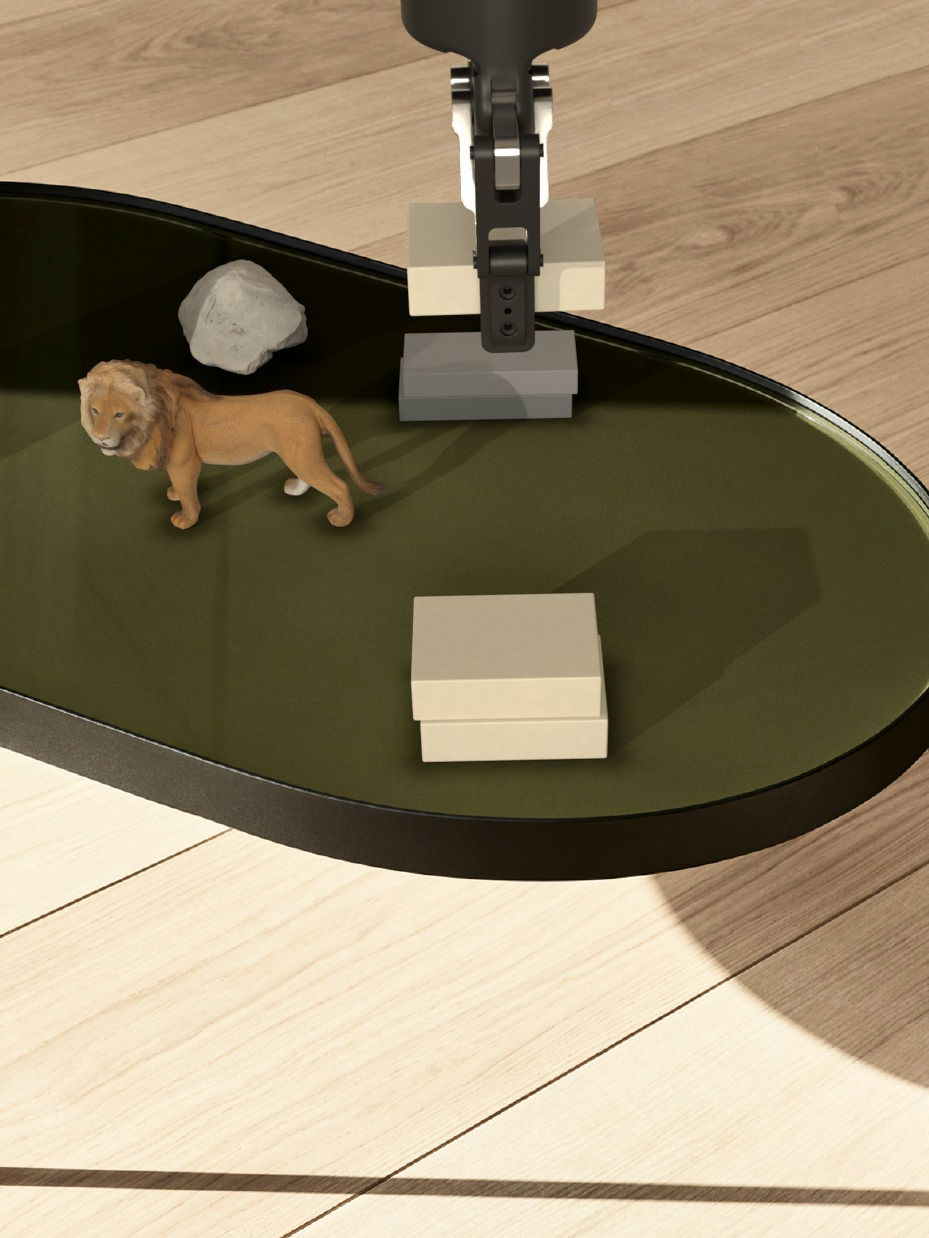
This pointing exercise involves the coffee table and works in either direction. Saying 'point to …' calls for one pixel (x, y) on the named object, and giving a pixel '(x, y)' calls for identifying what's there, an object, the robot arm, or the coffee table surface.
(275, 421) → the lion figurine
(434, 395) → the grey block
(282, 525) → the coffee table surface
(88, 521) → the coffee table surface
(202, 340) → the grey stone
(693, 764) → the coffee table surface
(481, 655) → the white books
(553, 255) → the cream flat block
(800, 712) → the coffee table surface
